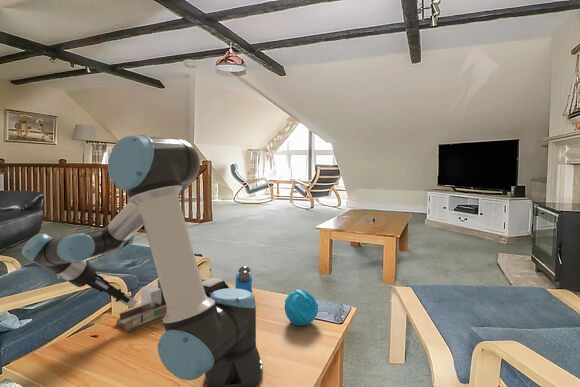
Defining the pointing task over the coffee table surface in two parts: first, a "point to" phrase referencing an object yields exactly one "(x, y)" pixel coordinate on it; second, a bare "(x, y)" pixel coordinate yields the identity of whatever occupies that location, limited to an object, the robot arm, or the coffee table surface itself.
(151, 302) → the carriage
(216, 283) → the miniature car
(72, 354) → the coffee table surface
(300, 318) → the blue round piece
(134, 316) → the frame
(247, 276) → the alarm clock
